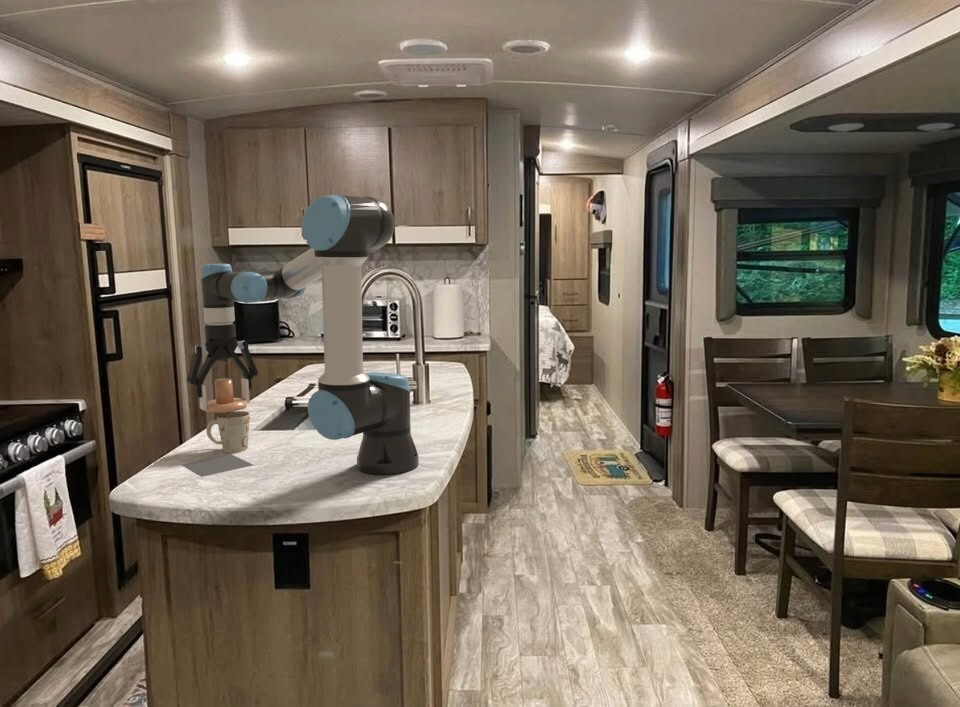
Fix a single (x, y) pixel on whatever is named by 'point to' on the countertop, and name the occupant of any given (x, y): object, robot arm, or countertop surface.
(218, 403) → the lid
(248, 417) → the mug
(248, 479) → the countertop surface
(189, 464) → the mat
